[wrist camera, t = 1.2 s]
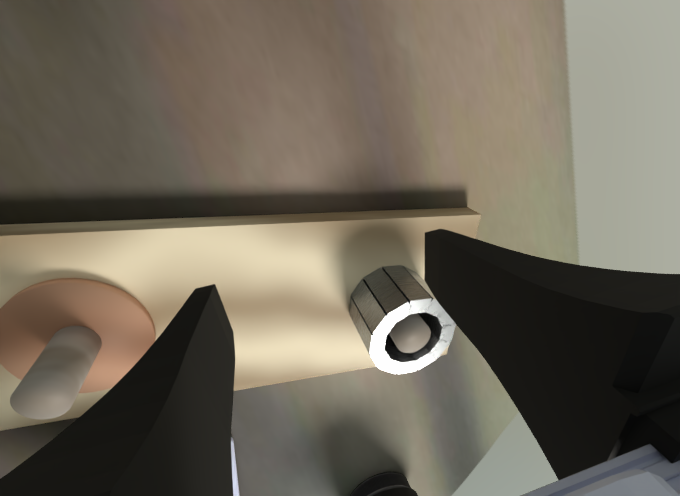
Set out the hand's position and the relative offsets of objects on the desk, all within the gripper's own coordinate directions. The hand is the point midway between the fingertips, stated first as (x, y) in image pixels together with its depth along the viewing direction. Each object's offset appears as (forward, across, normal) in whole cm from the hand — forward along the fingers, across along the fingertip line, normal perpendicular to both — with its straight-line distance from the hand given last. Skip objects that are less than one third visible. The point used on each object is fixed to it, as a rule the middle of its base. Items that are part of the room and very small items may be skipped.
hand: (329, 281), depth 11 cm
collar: (+8, -5, +8) cm, 13 cm away
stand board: (+9, +4, +7) cm, 12 cm away
